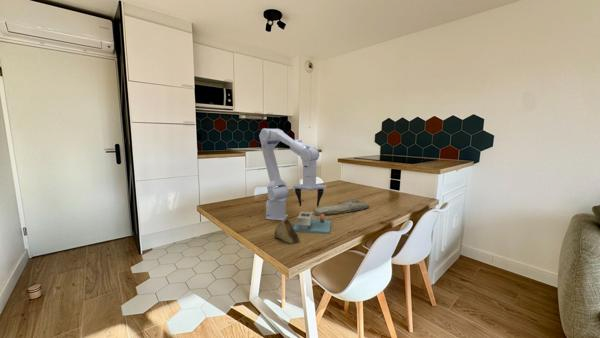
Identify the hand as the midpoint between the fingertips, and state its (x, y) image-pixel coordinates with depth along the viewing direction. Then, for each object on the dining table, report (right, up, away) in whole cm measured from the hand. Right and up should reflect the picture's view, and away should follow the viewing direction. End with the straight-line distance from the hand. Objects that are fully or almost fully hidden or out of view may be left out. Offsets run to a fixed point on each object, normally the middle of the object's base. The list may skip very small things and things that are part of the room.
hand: (309, 205), depth 112 cm
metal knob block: (-2, -10, 0) cm, 10 cm away
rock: (-9, -12, -11) cm, 19 cm away
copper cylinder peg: (+6, -9, +6) cm, 13 cm away
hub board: (+2, -10, +2) cm, 10 cm away
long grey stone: (+19, -7, +26) cm, 33 cm away
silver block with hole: (-2, -7, 0) cm, 7 cm away
